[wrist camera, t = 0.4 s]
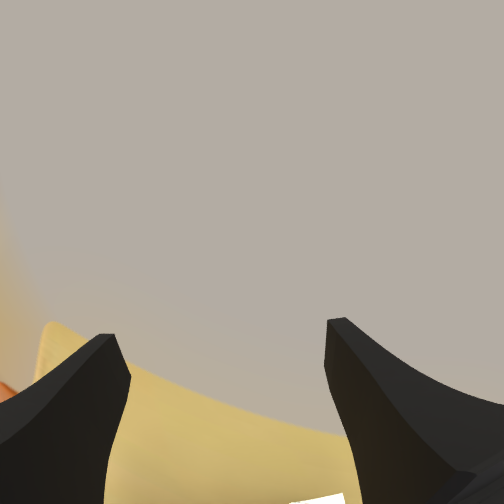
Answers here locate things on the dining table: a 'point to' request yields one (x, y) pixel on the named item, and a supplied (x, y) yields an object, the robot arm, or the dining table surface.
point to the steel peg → (325, 500)
